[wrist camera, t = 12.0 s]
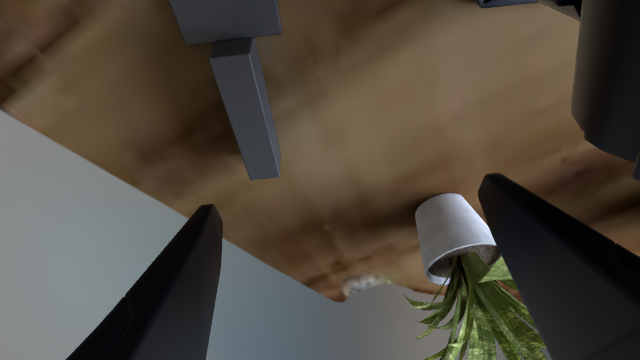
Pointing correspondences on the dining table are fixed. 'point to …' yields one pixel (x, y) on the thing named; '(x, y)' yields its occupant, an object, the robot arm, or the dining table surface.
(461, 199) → the house plant
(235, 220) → the dining table surface
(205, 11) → the spatula
